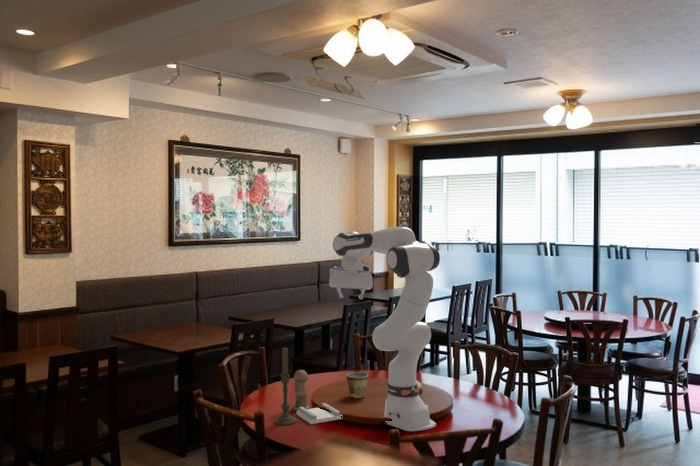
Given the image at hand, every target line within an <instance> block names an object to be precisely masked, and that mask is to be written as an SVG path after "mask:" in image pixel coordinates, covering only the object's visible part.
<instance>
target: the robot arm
mask: <svg viewBox="0 0 700 466" xmlns="http://www.w3.org/2000/svg"><path fill="white" fill-rule="evenodd" d="M332 248H333V250H334V252H335V253H336V255H337V256H339V257H342V258H341V265H340V266H332V267H331V268H330V269H329V279H328V280H329V282H328V285H329V286H330V288H336V292H337V293H338V298H339V299H343V298H344V293H343V292H342V288H343V289H352V290H354V289H355V290H360V294H359V295H358V299H359V300H363V299H364V294H365V292H366V290H371V289H372V288H373V286H374V283H373V279H374V278H373V274H372V273H371V272H372V268H371V267H370V266H368V265H365V264H363V263H362V261H361V258H363V259H365V258H369V257H370V256H372V255H373V253H374V252H375V253H378V254H379V253H380V254H384V255H386V263H387V267H388V268H389V269H390V271H391V272H393V273H394V274H396V276H397V277H398V278H401V279H402V278H404V279H405V281H404V282H405V283H404V286H403V288H402V291H401V294H400V297H399V300H398V303H397V305H396V307H395V308H394V310H393V312H392V313H391V315H389V316H388V318H387V319H386V320H385V321H384V322H382V323H380V324H379V325H378V326H376V327H375V328H374V330H373V331H372V335H371V336H372V337H371V338H372V339H371V340H372V342H373V345H374V347H375V348H376V349H378V351H384V352H394V351H398V354H397V355H396V356H395V357H394V358H393V359H392V360H391V361H390V362H389V364H388V382H387V387H386V390H387V397H386V399H385V403H384V415H383V418H384V417H388V418H391V419H392V421H385V422H386V423H387V424H386V423H385V424H386V425H389V426H392V427H395V428H397V429H400V430H403V431H405V432H418V431H419V432H420V431H426V430H429V429H433V428H434V427H436V426H437V423H436V422H435V421H434V420H432V419H431V418H430V410H429V409H430V408H429V405H428V404H425V402H424V401H423V398H422V399H421V398H420V396H419V392H420V391H418V390H420V389H418V386H417V384H416V380H417V366H418V362H419V358H420V356H421V353H422V352H423V350H424V348H425V347H427V345H428V344H429V343H430V341H431V338H432V331H431V328H430V326H429V325H428V324H427V322H424V321H422V319H424V317H425V314H426V312H427V308H428V306H429V304H430V301H431V298H432V297H431V296H432V295H433V294H432V292H433V288H434V278H433V276H432V274H430V273H429V272H431V271H433V270H436V269H437V268H438V267H439V264H440V262H441V261H440V260H441V255H440V252H439V250H438V248H436V246H434V245H433V244H430V243H427V242H426V241H425V240H421V241H420V242H419V241H417V239H416V235H415V233H414V231H413V230H412V229H411V228H410V227H406V226H391V227H388V228H384V229H380V230H375V231H371V232H370V231H369V232H366V233H359V232H357V231H348V232H345V233H344V232H339V233H338V234H337V235H336V236H335V237H334V239H333V241H332Z"/></svg>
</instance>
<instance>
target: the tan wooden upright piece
mask: <svg viewBox="0 0 700 466" xmlns="http://www.w3.org/2000/svg"><path fill="white" fill-rule="evenodd" d="M308 379H309V375H308V372H306V371H305V370H304V369H297V370H296V371H295V372H294V374H293V380H294V404H293V405H292V410H293V411H296V412H297V411H299V407H304V408H305V409H310V405H309V404H308V402H307V401H308V393H307V392H308V388H307V387H308Z"/></svg>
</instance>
